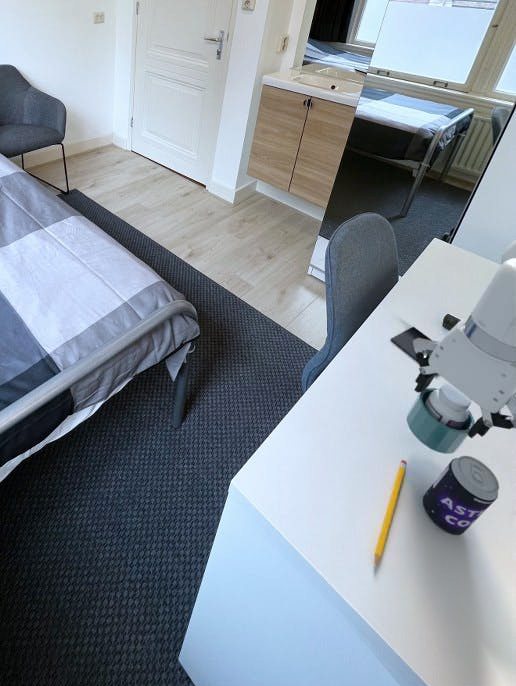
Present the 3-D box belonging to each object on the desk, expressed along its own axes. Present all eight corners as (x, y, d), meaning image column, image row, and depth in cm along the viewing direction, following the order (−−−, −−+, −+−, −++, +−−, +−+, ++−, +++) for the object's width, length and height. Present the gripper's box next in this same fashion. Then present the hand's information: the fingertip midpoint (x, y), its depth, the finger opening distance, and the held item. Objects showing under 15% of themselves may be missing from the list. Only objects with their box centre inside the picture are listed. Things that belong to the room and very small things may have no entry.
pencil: (406, 464, 72) (407, 462, 71) (376, 570, 59) (378, 568, 58) (400, 461, 72) (402, 458, 72) (370, 565, 59) (372, 563, 59)
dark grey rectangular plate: (470, 353, 94) (470, 351, 94) (435, 375, 88) (436, 374, 88) (425, 320, 102) (425, 319, 102) (390, 339, 96) (390, 338, 96)
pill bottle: (451, 426, 73) (476, 391, 68) (451, 452, 69) (478, 417, 65) (415, 408, 76) (437, 373, 71) (413, 432, 72) (436, 397, 67)
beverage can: (419, 520, 65) (455, 478, 59) (420, 486, 69) (453, 444, 63) (464, 547, 62) (505, 506, 56) (461, 510, 66) (500, 469, 61)
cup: (467, 441, 71) (484, 419, 68) (442, 462, 68) (458, 440, 65) (422, 402, 77) (435, 381, 74) (397, 420, 74) (410, 398, 71)
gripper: (585, 374, 56) (519, 449, 65) (448, 289, 70) (408, 360, 78) (560, 397, 53) (494, 472, 61) (421, 303, 66) (382, 375, 75)
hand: (446, 409), depth 70 cm, fingers closed on cup, 7 cm apart
